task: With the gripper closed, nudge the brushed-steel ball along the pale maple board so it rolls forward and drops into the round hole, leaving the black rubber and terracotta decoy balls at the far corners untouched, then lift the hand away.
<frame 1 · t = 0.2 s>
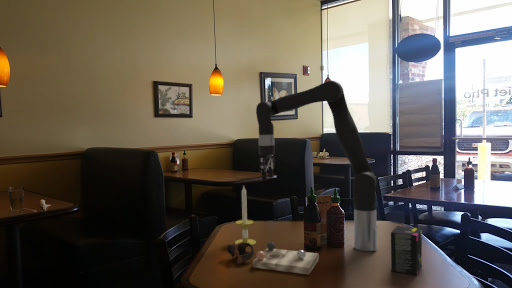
hand: (267, 178, 184), 29 cm above the table, fingers open, 8 cm apart
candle: (245, 243, 181), on the table
board: (286, 263, 153), on the table
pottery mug: (240, 260, 159), on the table
steel ball: (301, 254, 151), point 4 cm above the table, touching board
tampon box: (406, 269, 145), on the table
terracotta decoy: (260, 255, 151), point 4 cm above the table, touching board
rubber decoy: (271, 246, 162), point 4 cm above the table, touching board
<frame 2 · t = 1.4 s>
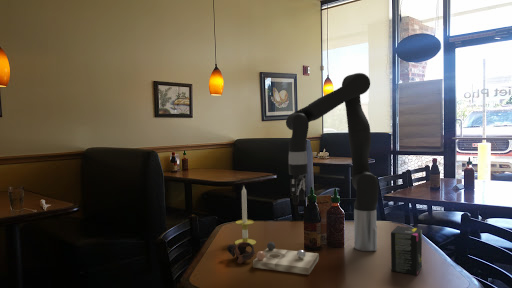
hand: (298, 202, 159), 23 cm above the table, fingers open, 8 cm apart
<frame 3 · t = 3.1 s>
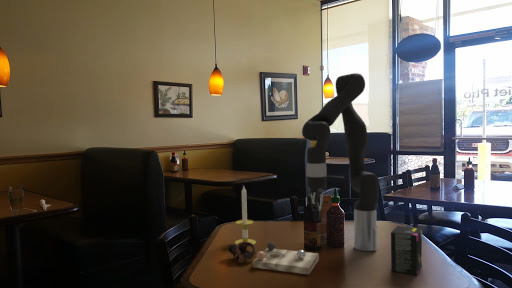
hand: (317, 220, 148), 18 cm above the table, fingers closed
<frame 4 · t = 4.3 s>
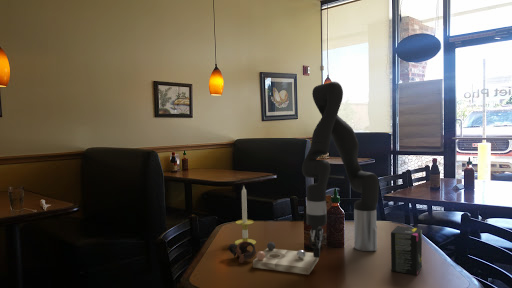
hand: (316, 256, 148), 4 cm above the table, fingers closed
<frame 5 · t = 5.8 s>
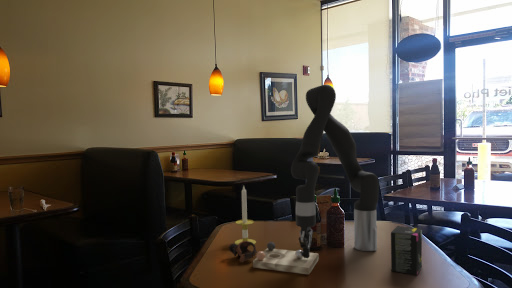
hand: (306, 257, 150), 3 cm above the table, fingers closed
steel ball: (299, 254, 151), point 4 cm above the table, tilted 19°, touching board, gripper
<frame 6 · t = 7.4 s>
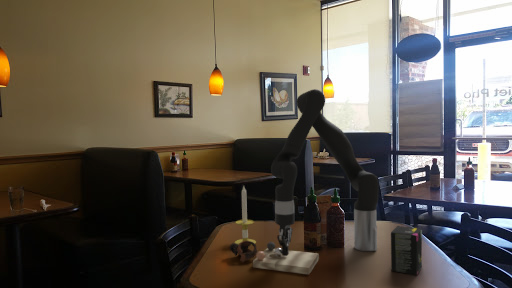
hand: (285, 254, 153), 3 cm above the table, fingers closed
steel ball: (278, 252, 154), point 4 cm above the table, tilted 94°, touching board
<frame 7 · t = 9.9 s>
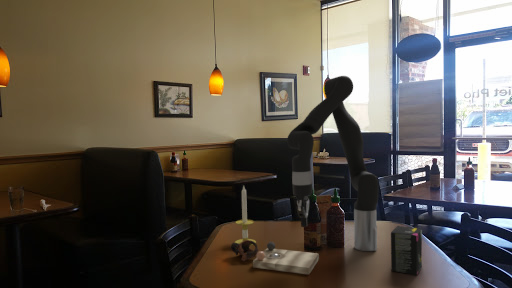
hand: (304, 226, 152), 15 cm above the table, fingers closed
steel ball: (274, 257, 155), point 2 cm above the table, tilted 17°
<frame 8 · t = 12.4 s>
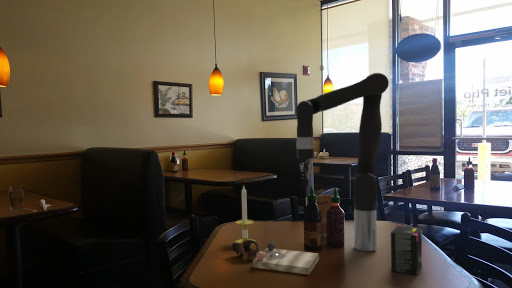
hand: (305, 187, 169), 27 cm above the table, fingers closed
steel ball: (275, 257, 155), point 2 cm above the table, tilted 6°
at the end: steel ball 0.5 cm from the target spot in the board, point 1.7 cm above the board's base; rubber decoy moved 0.0 cm from its start; terracotta decoy moved 0.0 cm from its start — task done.
